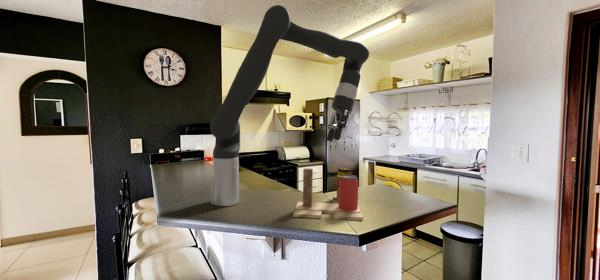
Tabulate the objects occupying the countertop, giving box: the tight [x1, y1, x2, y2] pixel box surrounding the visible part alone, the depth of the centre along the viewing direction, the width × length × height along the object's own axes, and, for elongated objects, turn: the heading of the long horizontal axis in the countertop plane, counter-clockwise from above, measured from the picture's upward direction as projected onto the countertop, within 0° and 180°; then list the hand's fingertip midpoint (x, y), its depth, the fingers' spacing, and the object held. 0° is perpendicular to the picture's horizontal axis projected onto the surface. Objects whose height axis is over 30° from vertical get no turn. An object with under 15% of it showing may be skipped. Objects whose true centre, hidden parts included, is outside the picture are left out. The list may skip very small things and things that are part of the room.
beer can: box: [337, 174, 359, 211], centre depth 91 cm, size 7×7×12 cm
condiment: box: [333, 167, 352, 200], centre depth 107 cm, size 7×8×12 cm
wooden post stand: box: [294, 167, 362, 215], centre depth 92 cm, size 22×8×14 cm, turn 83°
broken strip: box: [292, 209, 364, 221], centre depth 85 cm, size 22×4×1 cm, turn 83°
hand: (332, 140), depth 94 cm, fingers open, 8 cm apart
